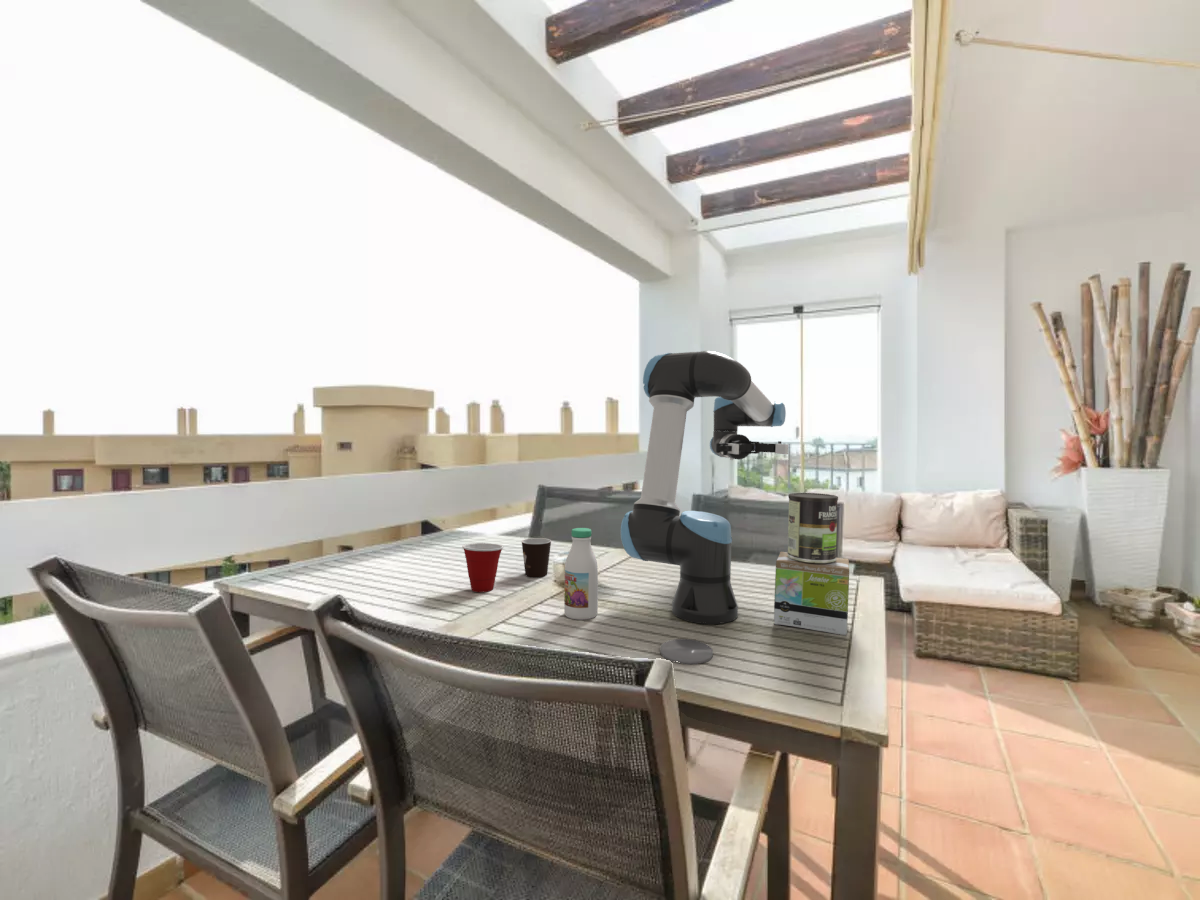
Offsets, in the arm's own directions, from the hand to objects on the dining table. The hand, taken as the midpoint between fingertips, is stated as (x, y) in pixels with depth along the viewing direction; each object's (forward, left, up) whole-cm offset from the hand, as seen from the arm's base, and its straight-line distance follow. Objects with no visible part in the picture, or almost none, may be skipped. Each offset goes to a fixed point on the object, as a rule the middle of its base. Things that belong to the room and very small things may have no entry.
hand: (762, 449), depth 145 cm
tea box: (+2, -25, -38) cm, 46 cm away
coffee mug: (-60, +21, -38) cm, 74 cm away
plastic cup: (-74, +6, -38) cm, 84 cm away
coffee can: (+2, -24, -24) cm, 34 cm away
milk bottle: (-49, -16, -38) cm, 64 cm away
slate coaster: (-30, -39, -38) cm, 62 cm away
